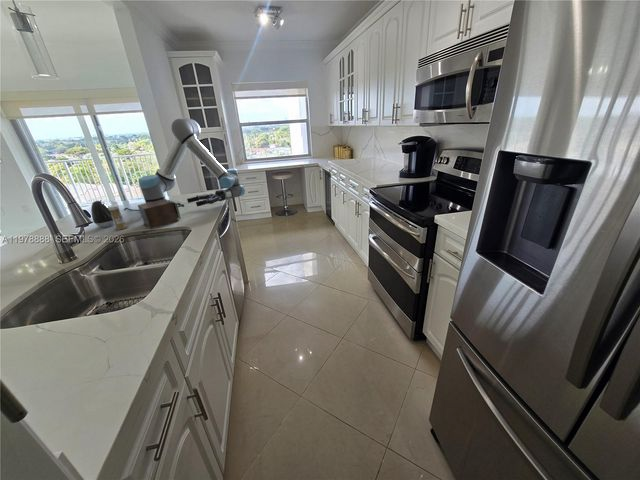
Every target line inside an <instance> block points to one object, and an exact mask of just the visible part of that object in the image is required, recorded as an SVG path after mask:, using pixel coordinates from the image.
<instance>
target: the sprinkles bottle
mask: <svg viewBox="0 0 640 480" xmlns="http://www.w3.org/2000/svg"><path fill="white" fill-rule="evenodd" d="M107 206H108V205H107ZM108 210H109V211H110V213H111V216H112V219H113V221H114V225H115V228H116V230H117V231H120V230H124V229H126V228H127V226H126V223H125V221H124V218H123V216H122V213H121V211H120V207H119V206H118V204H112V205H109V206H108Z"/></svg>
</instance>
